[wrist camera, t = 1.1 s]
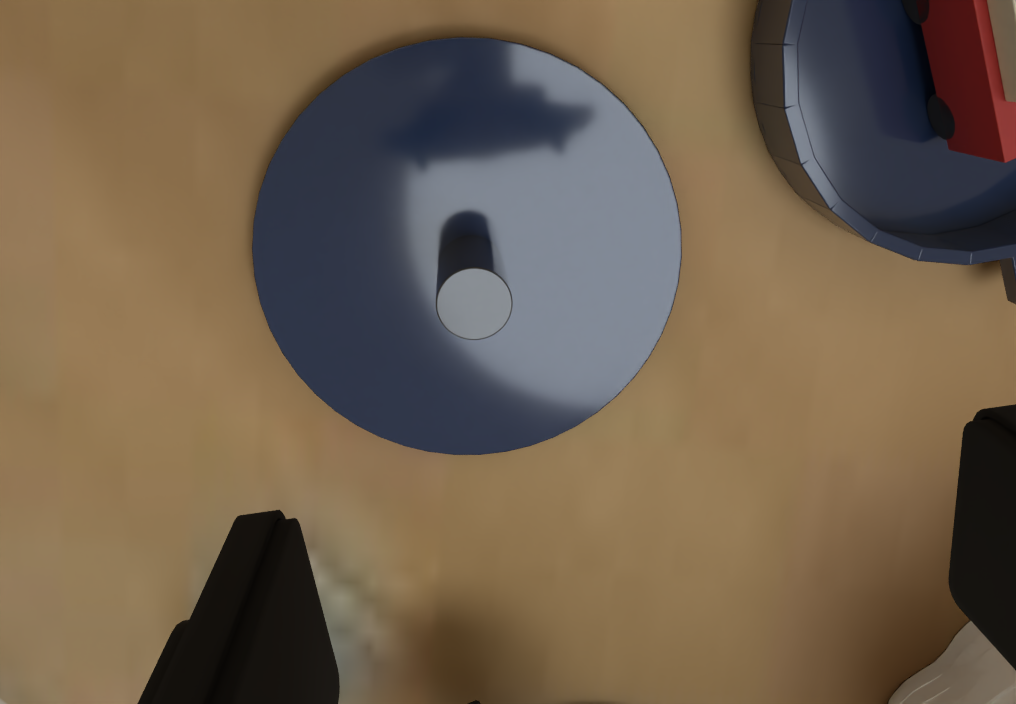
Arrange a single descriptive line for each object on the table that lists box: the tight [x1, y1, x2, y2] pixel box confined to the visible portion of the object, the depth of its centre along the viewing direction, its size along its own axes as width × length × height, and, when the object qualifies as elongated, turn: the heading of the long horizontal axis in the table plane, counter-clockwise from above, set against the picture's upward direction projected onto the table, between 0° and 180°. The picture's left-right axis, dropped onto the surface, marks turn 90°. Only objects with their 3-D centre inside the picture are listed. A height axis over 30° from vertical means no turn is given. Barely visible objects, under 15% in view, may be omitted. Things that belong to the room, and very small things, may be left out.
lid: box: [252, 37, 682, 455], centre depth 32 cm, size 18×18×6 cm
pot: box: [750, 0, 1016, 304], centre depth 31 cm, size 17×23×4 cm
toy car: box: [902, 0, 1016, 163], centre depth 29 cm, size 8×4×6 cm, turn 24°
